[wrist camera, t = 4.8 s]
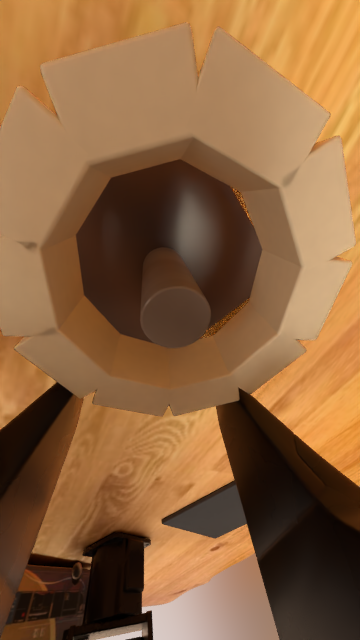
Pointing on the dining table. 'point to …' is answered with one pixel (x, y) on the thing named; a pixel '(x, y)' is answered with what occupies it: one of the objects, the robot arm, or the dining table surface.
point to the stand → (167, 253)
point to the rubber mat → (211, 514)
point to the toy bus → (47, 603)
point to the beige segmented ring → (150, 150)
